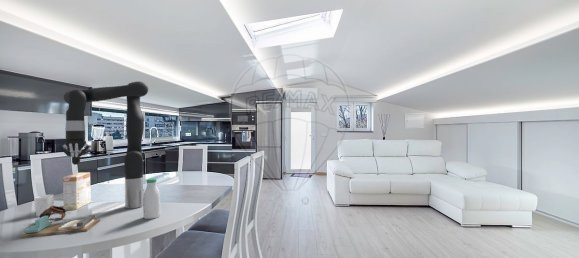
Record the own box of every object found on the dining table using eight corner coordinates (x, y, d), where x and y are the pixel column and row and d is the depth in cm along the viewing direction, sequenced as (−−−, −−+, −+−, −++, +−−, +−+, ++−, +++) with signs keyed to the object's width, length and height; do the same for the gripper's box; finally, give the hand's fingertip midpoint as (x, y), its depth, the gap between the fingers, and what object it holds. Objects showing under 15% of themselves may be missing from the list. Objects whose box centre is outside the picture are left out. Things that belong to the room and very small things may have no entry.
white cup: (41, 217, 134) (41, 198, 134) (30, 216, 135) (30, 197, 135) (58, 212, 141) (57, 194, 141) (47, 211, 143) (46, 194, 143)
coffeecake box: (78, 203, 159) (78, 172, 159) (91, 202, 161) (91, 172, 161) (62, 210, 145) (62, 176, 145) (76, 209, 146) (76, 176, 146)
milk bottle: (163, 215, 134) (163, 177, 134) (151, 220, 127) (150, 180, 127) (152, 213, 136) (152, 177, 137) (140, 218, 129) (139, 180, 129)
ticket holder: (100, 221, 126) (99, 213, 126) (87, 231, 114) (87, 222, 114) (41, 226, 120) (41, 218, 120) (20, 238, 107) (20, 229, 107)
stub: (51, 224, 119) (50, 214, 119) (38, 231, 111) (37, 221, 111) (38, 225, 118) (37, 215, 118) (23, 233, 109) (23, 222, 109)
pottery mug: (44, 219, 132) (55, 204, 134) (62, 226, 133) (72, 211, 135) (27, 221, 120) (39, 204, 123) (47, 229, 121) (58, 212, 124)
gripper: (94, 129, 131) (94, 162, 131) (64, 130, 128) (64, 164, 128) (87, 129, 124) (87, 164, 124) (54, 130, 120) (55, 166, 120)
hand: (76, 164), depth 126 cm, fingers closed
